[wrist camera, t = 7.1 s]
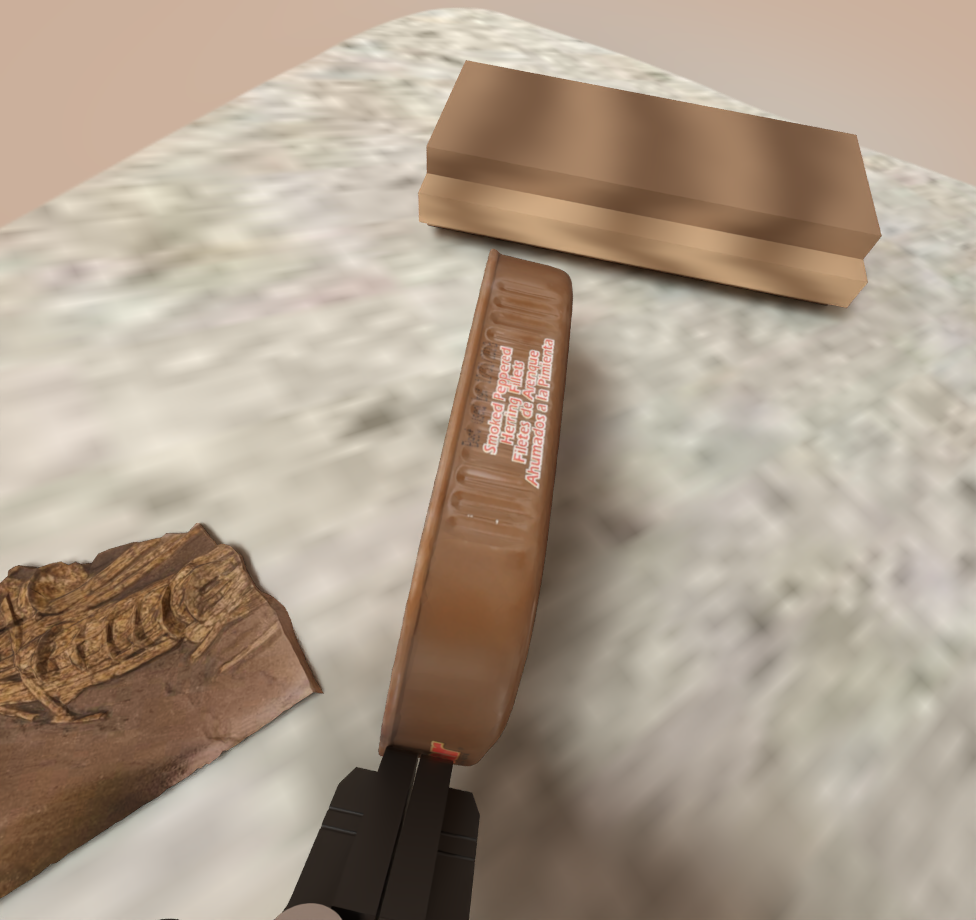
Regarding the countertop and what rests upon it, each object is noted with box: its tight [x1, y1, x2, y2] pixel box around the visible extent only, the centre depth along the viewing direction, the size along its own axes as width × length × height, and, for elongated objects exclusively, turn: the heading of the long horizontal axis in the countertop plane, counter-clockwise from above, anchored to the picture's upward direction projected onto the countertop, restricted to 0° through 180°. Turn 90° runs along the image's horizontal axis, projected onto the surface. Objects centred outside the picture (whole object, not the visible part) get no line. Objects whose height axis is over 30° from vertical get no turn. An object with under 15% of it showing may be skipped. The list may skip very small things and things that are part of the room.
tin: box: [378, 249, 573, 766], centre depth 17 cm, size 15×3×8 cm, turn 171°
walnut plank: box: [418, 60, 881, 308], centre depth 28 cm, size 20×10×4 cm, turn 79°
